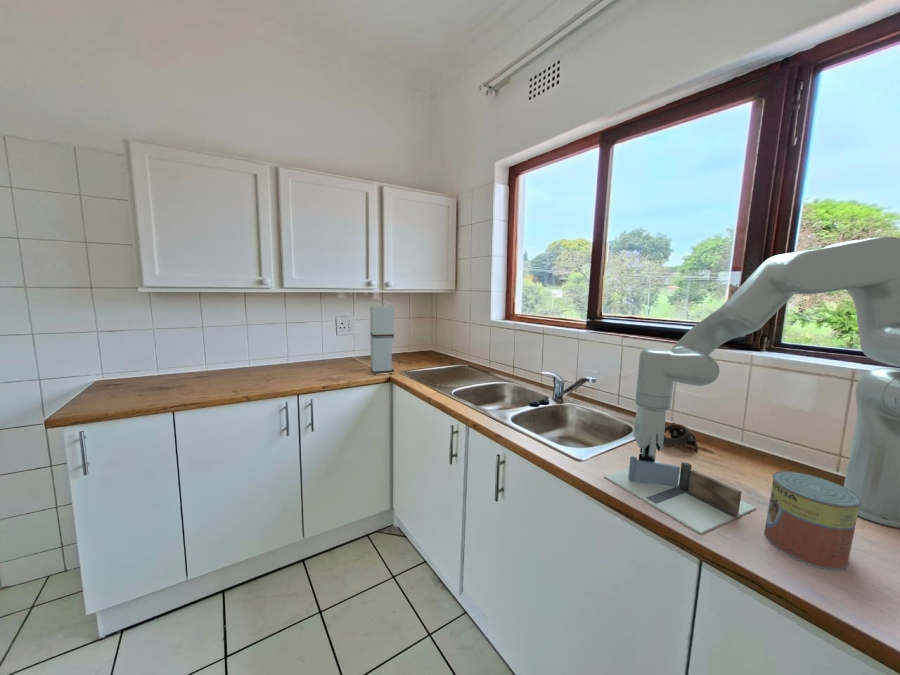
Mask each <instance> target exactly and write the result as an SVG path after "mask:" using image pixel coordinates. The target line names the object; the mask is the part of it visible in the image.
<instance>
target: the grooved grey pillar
mask: <svg viewBox="0 0 900 675" xmlns="http://www.w3.org/2000/svg"><path fill="white" fill-rule="evenodd" d="M369 311H370V313H369V314H370V316H369V317H370V318H369V319H370V321H369V323H370V324H369V325H370V328H369V329H370V333H369V334H370V335H369V336H370V372H371V371H372V372H371V374H372V373H373V374H380V373H390V372H394V373H395V370H394V369H393V363H392V362H393V361H392V360H393V359H392V358H393V353H392V352H393V349H392V348H393V347H392V346H393V345H392V344H393V343H392V342H393V341H395V307H394V306H391V305H388V306H387V307H386V306H385V307H384V306H383V307H382V306H381V307H379V306H373V305H370V308H369ZM373 374H372V375H373Z"/></svg>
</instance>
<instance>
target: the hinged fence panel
mask: <svg viewBox="0 0 900 675" xmlns="http://www.w3.org/2000/svg"><path fill="white" fill-rule="evenodd" d="M628 469H629V476H628V479H629V480H631V481H639V482H645V483H652V484H658V485H664V486H671V487H677V488H678V480H679V472H680V471H681V466H679V465H677V464H671V463H670V464H669V463H662V462H660V463H656V462H649V461H643V460H639V459H638V458H637V457H636V456H630V458H629V468H628Z"/></svg>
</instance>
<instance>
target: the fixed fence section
mask: <svg viewBox="0 0 900 675" xmlns="http://www.w3.org/2000/svg"><path fill="white" fill-rule="evenodd" d="M692 467H693V466H692V464H690V463H689V462H684V461H683V462H681V465H680V479H679V489H681V490H683V491H688V490H689V492H691V493H693V494H695V495H697V496H699V497H701V498H703V499H705V500H707V501H709V502H711V503H713V504H715V505H717V506H719V507H721V508H723V509H725V510H727V511H729V512H731V513H733V514H735V515H737V514H738V513H739V506H740V500H741V498H742V492H743V491H742V490H739V489H737V488H734V487H732V486H730V485H728V484H726V483H724V482H721V481H719V480H717V479H714V478H713V477H710V476H708V475H706V474H703V473H701V472H699V471H697V470H694V469H693V470H692ZM741 501H742V500H741Z"/></svg>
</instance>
